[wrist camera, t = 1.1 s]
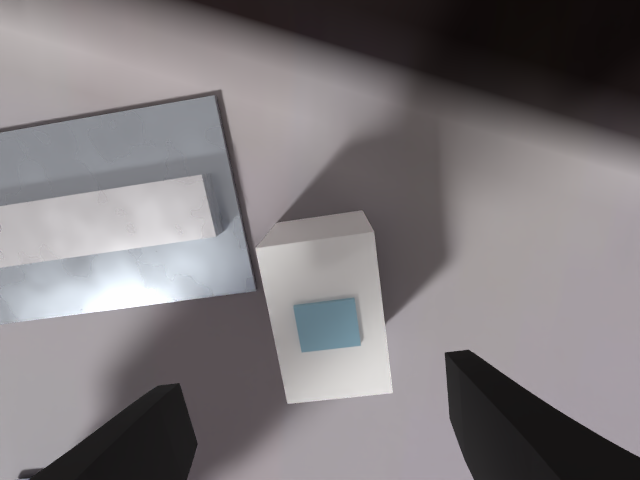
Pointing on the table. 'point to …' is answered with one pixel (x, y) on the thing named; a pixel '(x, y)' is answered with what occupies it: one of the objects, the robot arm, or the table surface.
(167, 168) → the rail
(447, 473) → the table surface
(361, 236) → the block
